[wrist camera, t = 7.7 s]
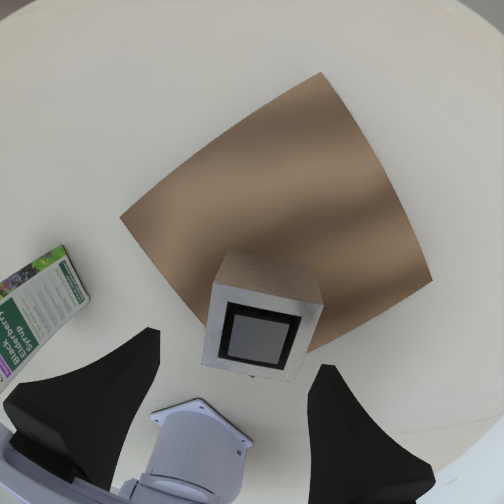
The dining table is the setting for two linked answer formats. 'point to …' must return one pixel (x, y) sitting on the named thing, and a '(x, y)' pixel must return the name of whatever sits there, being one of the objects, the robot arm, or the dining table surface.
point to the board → (287, 211)
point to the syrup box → (35, 309)
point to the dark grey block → (258, 334)
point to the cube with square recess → (265, 297)
